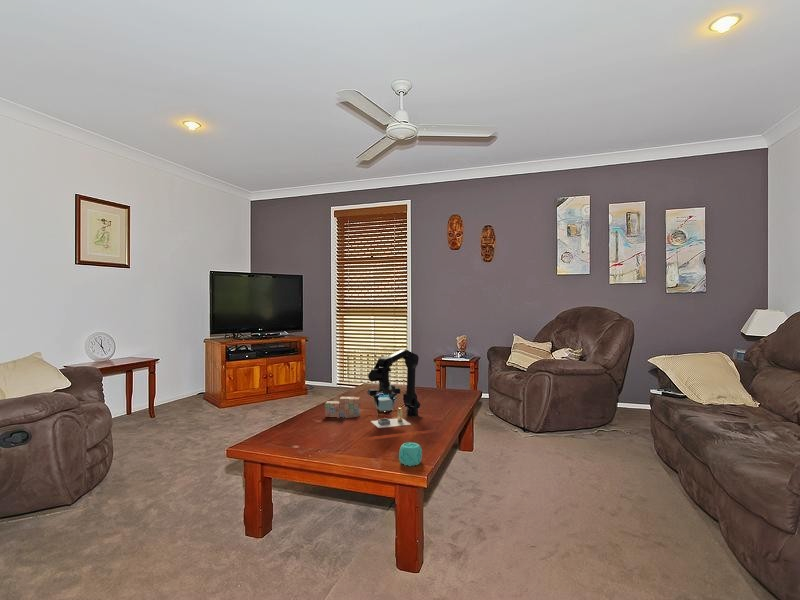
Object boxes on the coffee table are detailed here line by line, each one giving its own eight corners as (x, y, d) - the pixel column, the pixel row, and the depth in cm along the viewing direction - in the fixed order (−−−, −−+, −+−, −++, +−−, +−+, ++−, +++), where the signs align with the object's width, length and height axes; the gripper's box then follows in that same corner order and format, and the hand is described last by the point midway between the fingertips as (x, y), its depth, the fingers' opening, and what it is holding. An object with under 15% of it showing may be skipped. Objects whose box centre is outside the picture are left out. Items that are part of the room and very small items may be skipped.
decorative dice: (415, 467, 191) (415, 449, 191) (398, 464, 194) (398, 446, 194) (422, 461, 198) (422, 443, 198) (406, 458, 201) (406, 441, 201)
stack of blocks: (324, 418, 272) (324, 398, 272) (327, 415, 278) (327, 396, 278) (358, 418, 270) (358, 398, 270) (360, 416, 276) (360, 396, 276)
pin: (401, 420, 259) (401, 407, 260) (403, 422, 257) (403, 408, 257) (396, 421, 258) (396, 407, 258) (398, 422, 256) (398, 408, 256)
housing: (387, 406, 259) (387, 397, 259) (392, 409, 251) (392, 400, 251) (375, 407, 257) (375, 398, 257) (380, 410, 248) (380, 401, 248)
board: (401, 420, 266) (401, 414, 266) (411, 426, 252) (411, 420, 252) (370, 423, 259) (370, 417, 259) (378, 430, 245) (378, 424, 245)
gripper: (373, 382, 243) (372, 410, 243) (404, 380, 250) (404, 408, 250) (367, 379, 253) (367, 406, 253) (397, 377, 260) (397, 403, 260)
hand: (384, 406), depth 254 cm, fingers closed on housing, 7 cm apart
